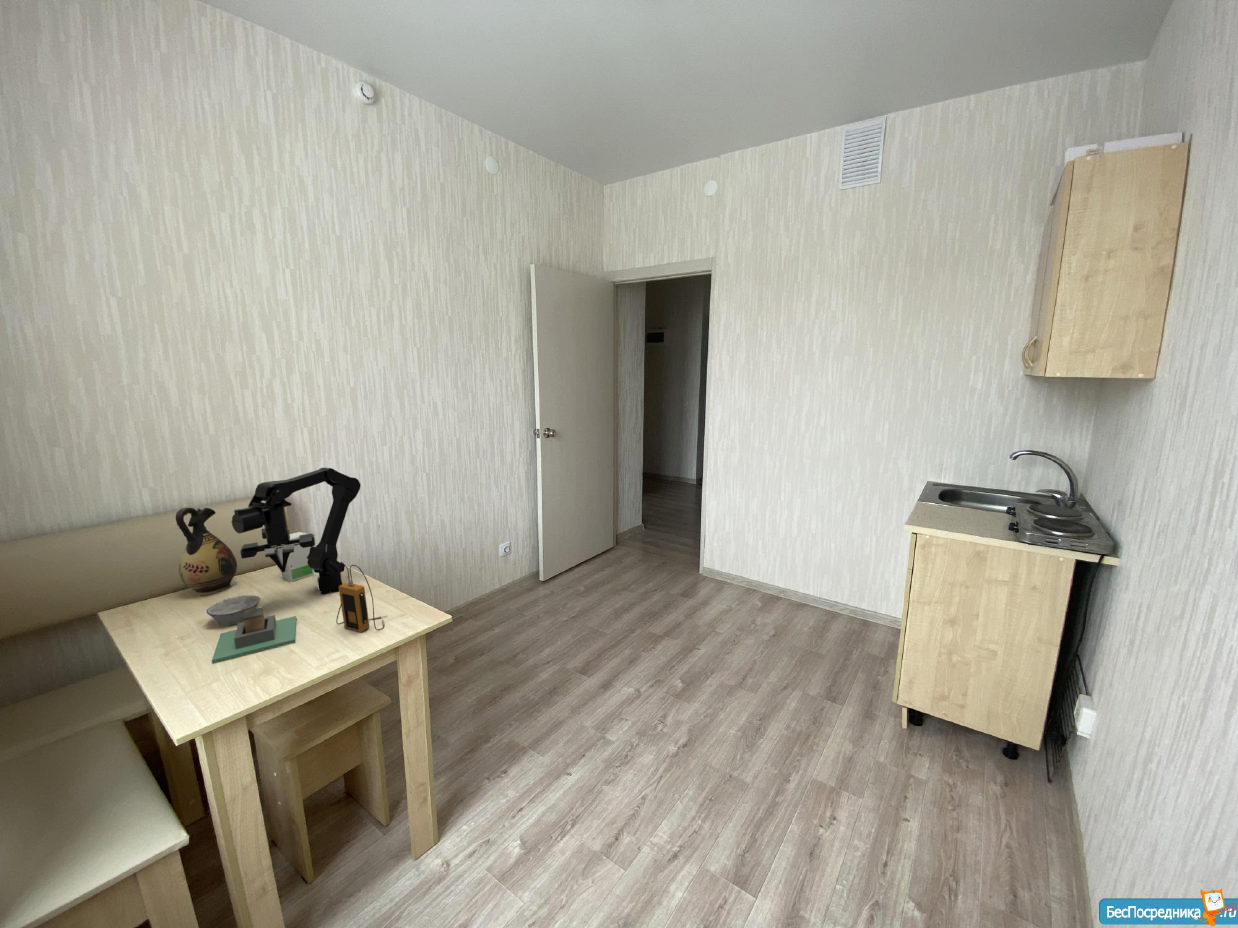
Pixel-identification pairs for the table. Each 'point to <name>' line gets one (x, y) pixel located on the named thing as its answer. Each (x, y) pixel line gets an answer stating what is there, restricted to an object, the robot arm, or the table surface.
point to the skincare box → (296, 561)
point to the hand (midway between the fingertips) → (283, 571)
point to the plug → (254, 620)
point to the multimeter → (355, 605)
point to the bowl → (233, 609)
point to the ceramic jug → (204, 555)
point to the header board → (255, 639)
